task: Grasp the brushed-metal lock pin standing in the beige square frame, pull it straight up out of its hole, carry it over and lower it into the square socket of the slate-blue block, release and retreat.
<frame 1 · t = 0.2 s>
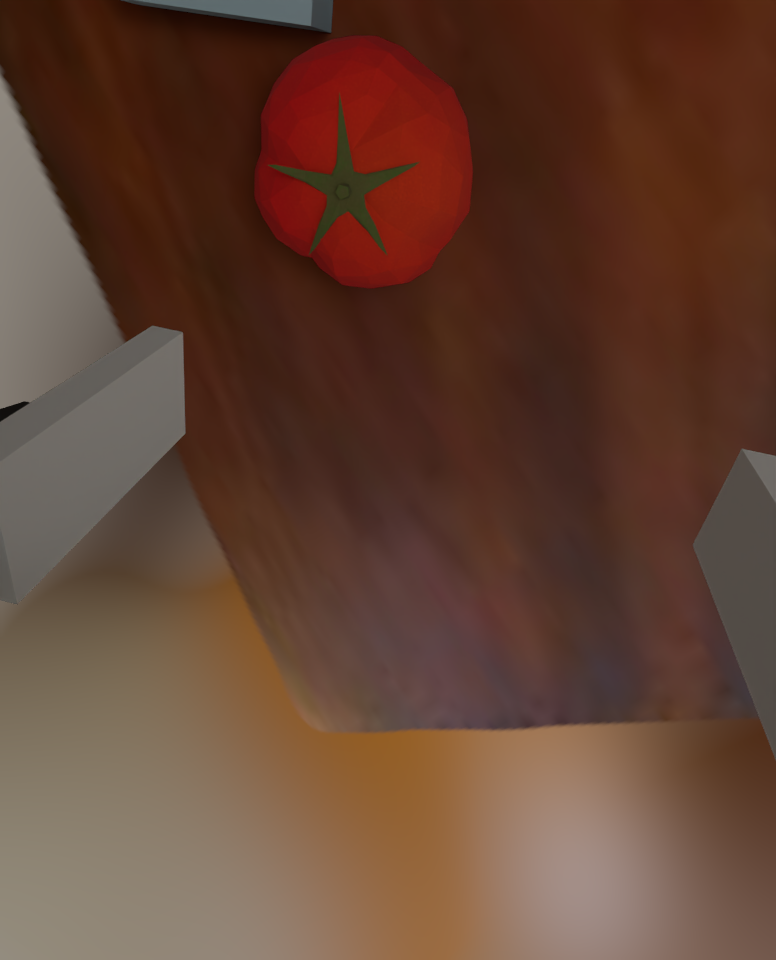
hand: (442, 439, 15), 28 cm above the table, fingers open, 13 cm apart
tomato: (381, 163, 38), on the table
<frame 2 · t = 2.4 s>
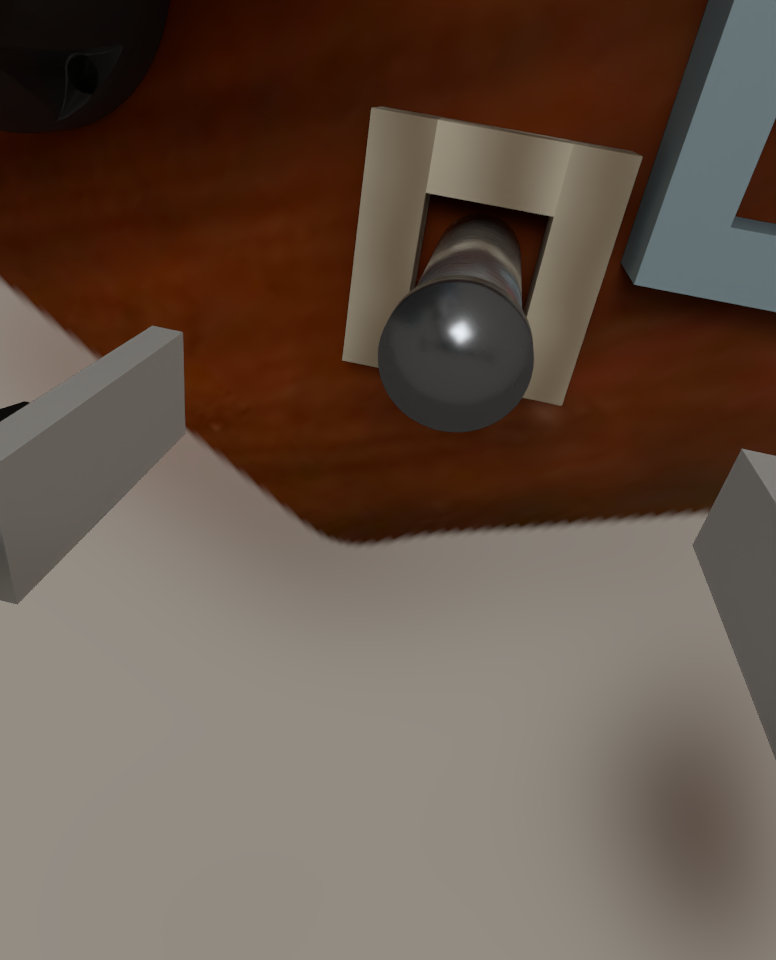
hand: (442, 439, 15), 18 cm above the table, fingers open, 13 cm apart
pin: (468, 297, 25), in the beige square frame
beige square frame: (478, 257, 31), on the table
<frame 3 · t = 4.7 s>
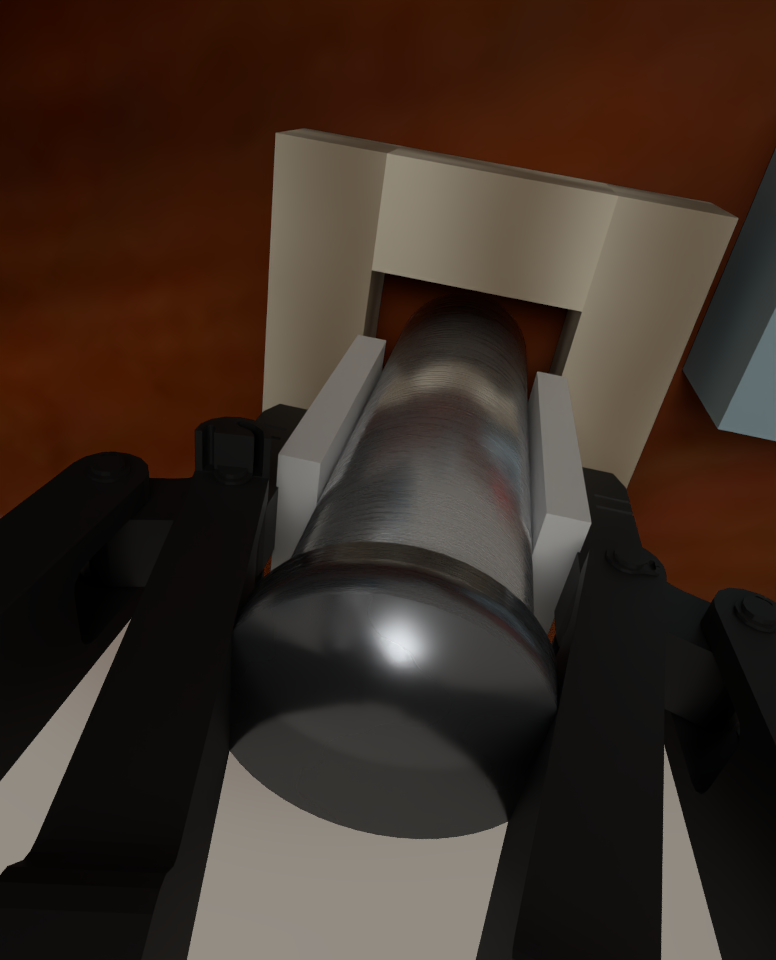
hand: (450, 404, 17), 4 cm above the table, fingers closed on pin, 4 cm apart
pin: (436, 466, 14), in the beige square frame, touching gripper
beige square frame: (460, 357, 20), on the table
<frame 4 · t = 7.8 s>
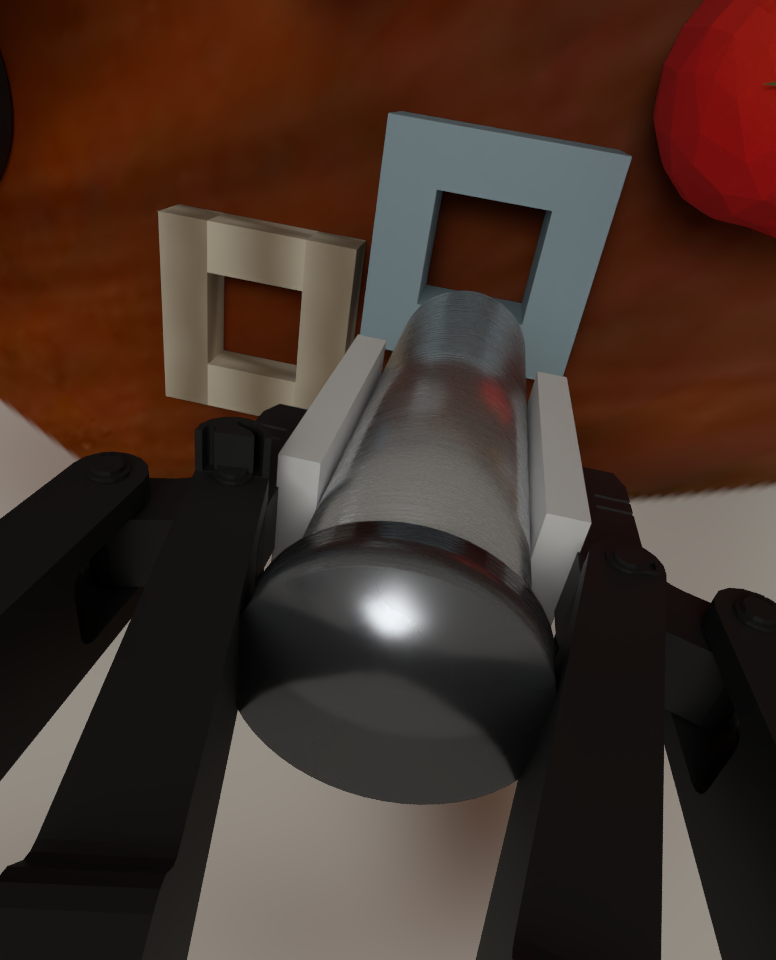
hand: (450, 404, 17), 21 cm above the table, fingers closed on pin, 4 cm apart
pin: (438, 457, 15), point 24 cm above the table, touching gripper
beige square frame: (267, 316, 39), on the table
socket: (484, 243, 35), on the table
tomato: (774, 88, 30), on the table
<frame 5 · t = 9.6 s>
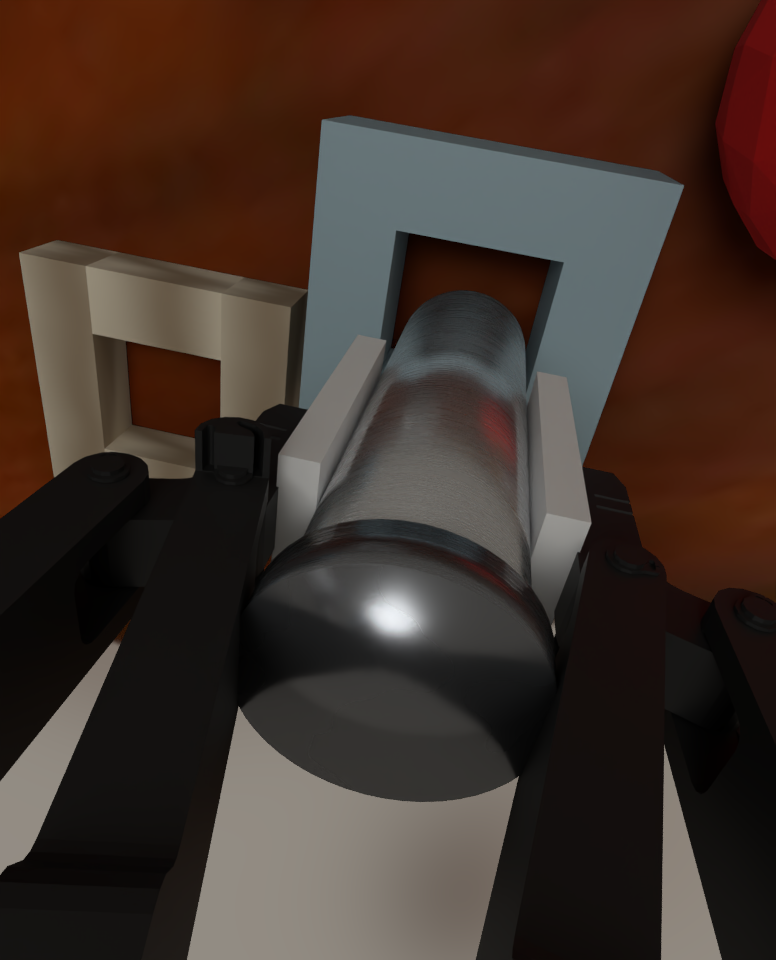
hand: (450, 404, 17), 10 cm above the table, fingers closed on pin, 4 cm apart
pin: (439, 456, 15), point 13 cm above the table, touching gripper
beige square frame: (184, 384, 30), on the table
socket: (468, 296, 26), on the table
when the fingers open (6 cm above the table, at t = 11.2 s): pin drops 1 cm, resting in socket.
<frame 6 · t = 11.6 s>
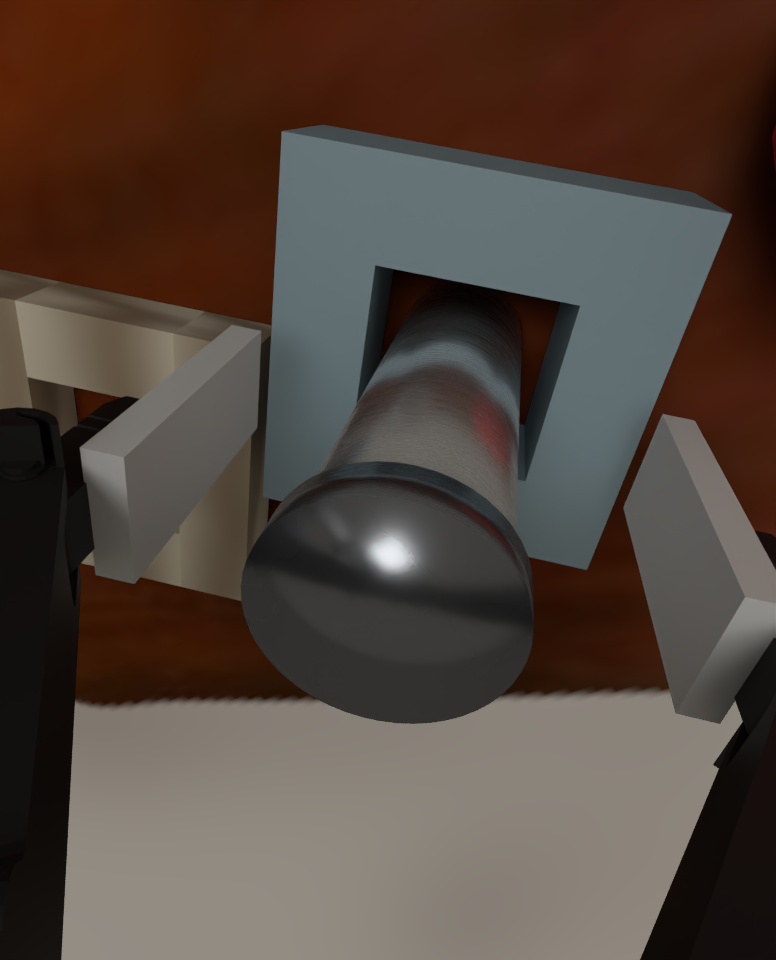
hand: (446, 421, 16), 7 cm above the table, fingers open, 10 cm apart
pin: (436, 427, 16), in the socket
beige square frame: (140, 430, 26), on the table
socket: (465, 336, 22), on the table
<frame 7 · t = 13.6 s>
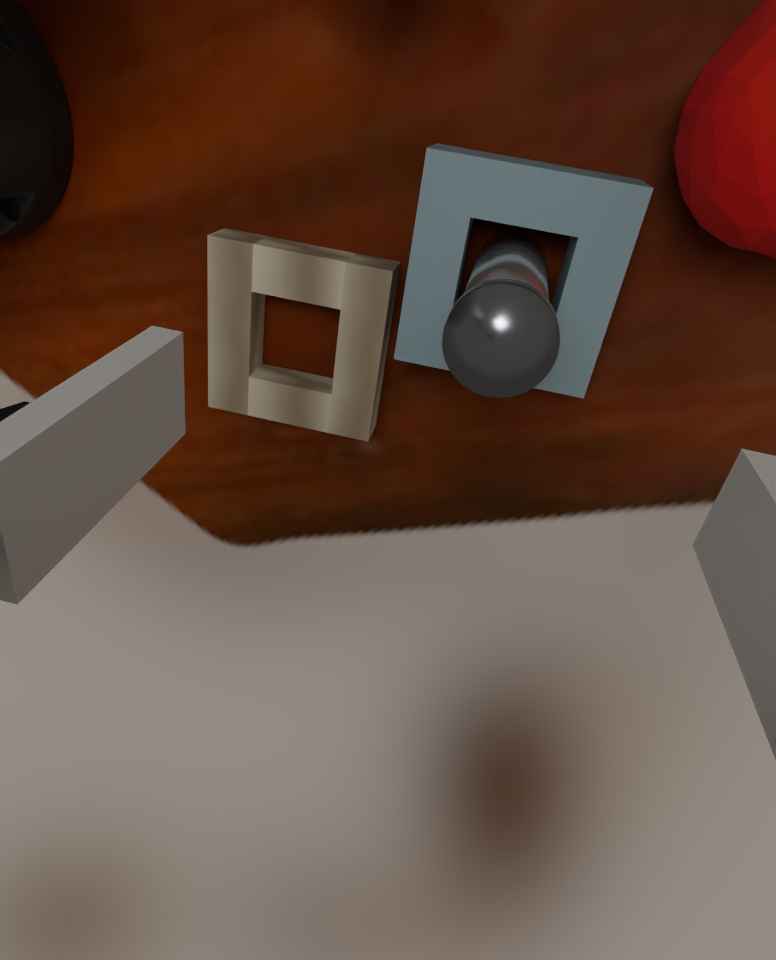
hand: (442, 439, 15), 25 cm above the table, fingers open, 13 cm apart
pin: (506, 298, 31), in the socket
beige square frame: (304, 332, 42), on the table
socket: (512, 265, 37), on the table
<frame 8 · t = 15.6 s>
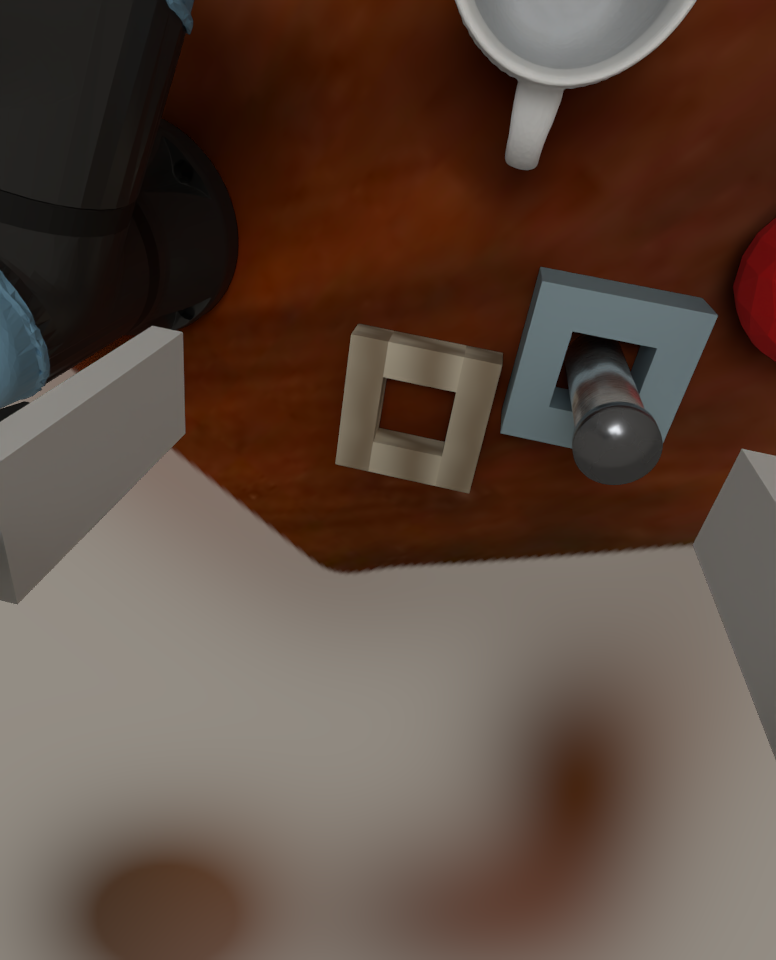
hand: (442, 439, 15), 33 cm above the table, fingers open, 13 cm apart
pin: (603, 397, 41), in the socket
beige square frame: (417, 404, 51), on the table
socket: (594, 358, 46), on the table
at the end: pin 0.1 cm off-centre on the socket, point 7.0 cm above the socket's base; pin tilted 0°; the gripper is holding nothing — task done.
